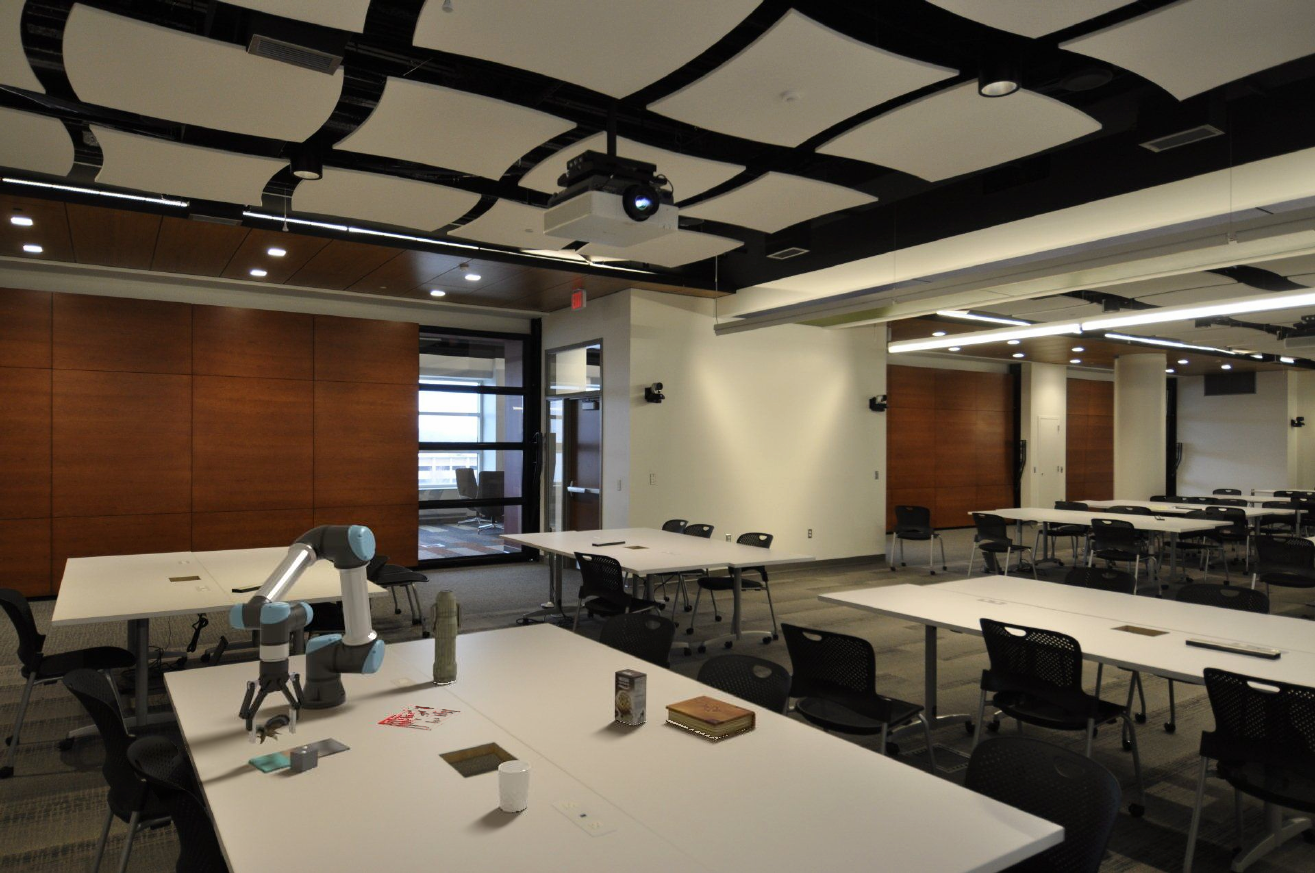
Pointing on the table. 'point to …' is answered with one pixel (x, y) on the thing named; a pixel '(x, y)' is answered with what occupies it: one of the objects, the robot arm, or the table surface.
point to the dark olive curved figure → (272, 727)
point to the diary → (711, 716)
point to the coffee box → (630, 696)
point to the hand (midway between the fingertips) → (272, 737)
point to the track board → (283, 757)
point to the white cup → (514, 785)
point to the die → (303, 759)
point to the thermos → (445, 636)
